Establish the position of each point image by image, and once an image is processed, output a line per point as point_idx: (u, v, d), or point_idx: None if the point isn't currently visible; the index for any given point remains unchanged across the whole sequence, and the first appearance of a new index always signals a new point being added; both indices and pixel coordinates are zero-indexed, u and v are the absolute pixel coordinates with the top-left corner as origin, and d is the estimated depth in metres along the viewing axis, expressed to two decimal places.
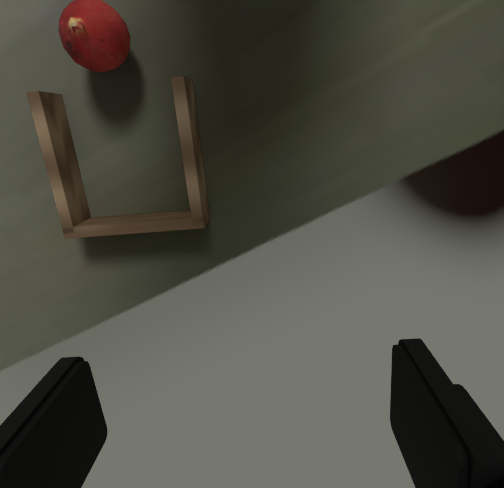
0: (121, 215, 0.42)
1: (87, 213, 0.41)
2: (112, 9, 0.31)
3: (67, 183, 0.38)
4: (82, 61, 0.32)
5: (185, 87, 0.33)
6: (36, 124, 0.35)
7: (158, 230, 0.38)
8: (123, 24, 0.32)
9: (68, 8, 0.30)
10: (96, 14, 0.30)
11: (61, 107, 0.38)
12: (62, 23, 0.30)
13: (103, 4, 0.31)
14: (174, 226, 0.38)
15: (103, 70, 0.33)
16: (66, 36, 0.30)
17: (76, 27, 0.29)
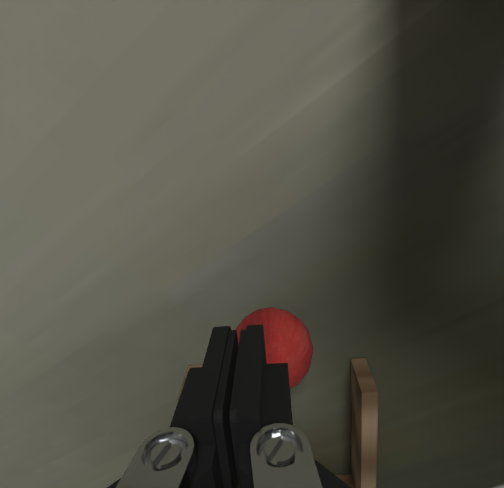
0: None
1: None
2: (301, 329, 0.25)
3: None
4: None
5: None
6: None
7: None
8: (310, 340, 0.26)
9: None
10: (293, 358, 0.23)
11: None
12: None
13: (294, 331, 0.24)
14: None
15: None
16: None
17: None
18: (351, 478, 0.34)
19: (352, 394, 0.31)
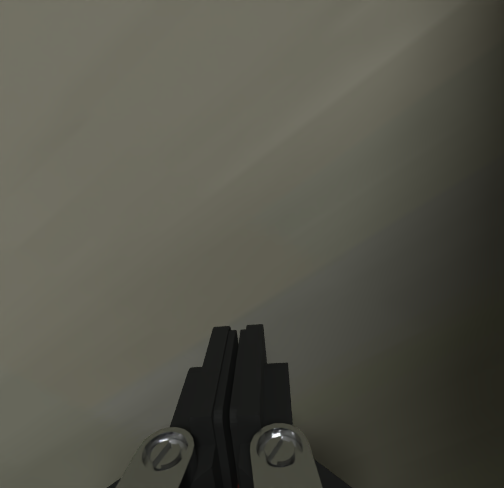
0: None
1: None
2: None
3: None
4: None
5: None
6: None
7: None
8: None
9: None
10: None
11: None
12: None
13: None
14: None
15: None
16: None
17: None
18: None
19: None
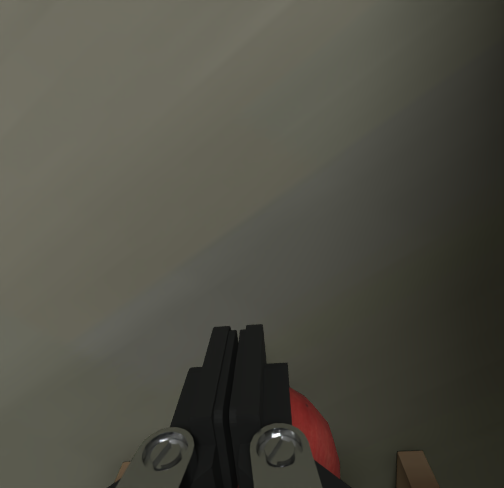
0: None
1: None
2: (318, 435, 0.12)
3: None
4: None
5: None
6: None
7: None
8: (334, 449, 0.13)
9: None
10: None
11: None
12: None
13: None
14: None
15: None
16: None
17: None
18: None
19: None
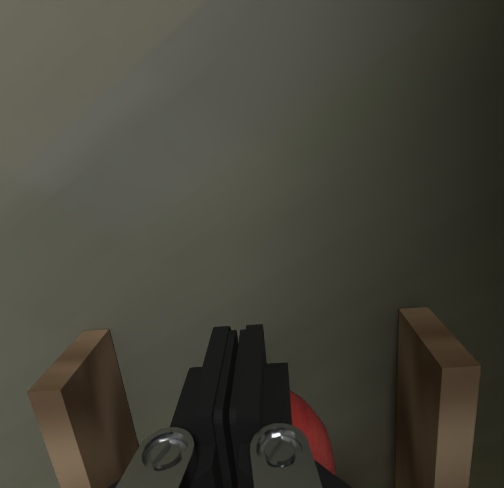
0: None
1: None
2: (316, 437, 0.12)
3: None
4: None
5: None
6: (54, 457, 0.13)
7: None
8: (331, 453, 0.13)
9: None
10: None
11: (110, 360, 0.16)
12: None
13: None
14: None
15: None
16: None
17: None
18: None
19: (402, 381, 0.16)
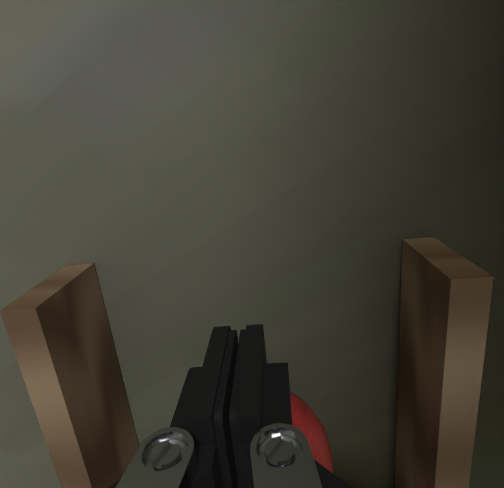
0: None
1: None
2: (315, 438, 0.12)
3: None
4: None
5: None
6: (30, 386, 0.12)
7: None
8: (330, 454, 0.13)
9: None
10: None
11: (94, 295, 0.15)
12: None
13: None
14: None
15: None
16: None
17: None
18: None
19: (405, 318, 0.15)
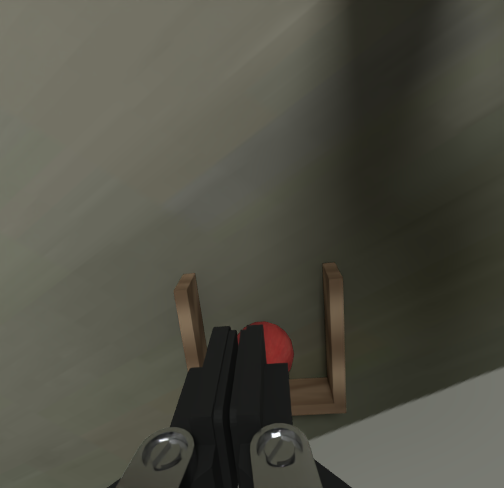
0: None
1: None
2: (286, 339, 0.33)
3: (202, 366, 0.36)
4: None
5: None
6: (180, 319, 0.33)
7: (297, 414, 0.36)
8: (292, 347, 0.34)
9: None
10: (279, 359, 0.32)
11: (195, 286, 0.36)
12: None
13: (280, 340, 0.33)
14: (314, 410, 0.36)
15: None
16: None
17: None
18: (327, 379, 0.39)
19: (324, 295, 0.36)
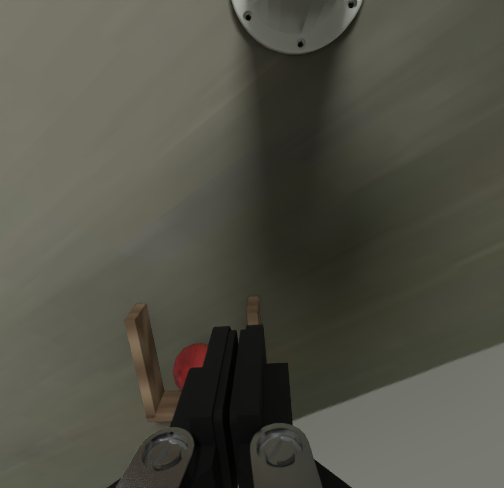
0: None
1: (162, 390, 0.48)
2: None
3: (151, 379, 0.44)
4: None
5: (257, 318, 0.40)
6: (130, 342, 0.42)
7: None
8: None
9: (186, 371, 0.40)
10: None
11: (146, 314, 0.44)
12: (180, 381, 0.40)
13: None
14: None
15: None
16: None
17: None
18: None
19: None
